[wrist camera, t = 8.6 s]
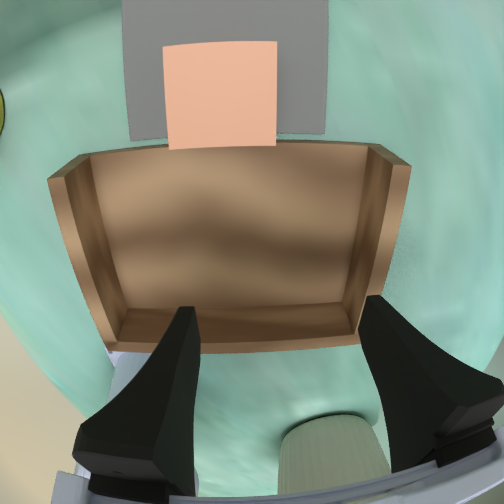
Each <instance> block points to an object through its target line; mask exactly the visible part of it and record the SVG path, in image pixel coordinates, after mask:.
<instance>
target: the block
mask: <svg viewBox="0 0 504 504" xmlns="http://www.w3.org/2000/svg"><path fill="white" fill-rule="evenodd" d="M163 69H164V88H165V104H166V118H167V131H168V143H169V150H174V149H188V148H206V147H229V146H276V117H277V41H227V42H207V43H193V44H182V45H173V46H165V47H163Z"/></svg>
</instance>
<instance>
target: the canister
mask: <svg viewBox="0 0 504 504" xmlns="http://www.w3.org/2000/svg"><path fill="white" fill-rule="evenodd" d="M389 474H392V473H391V469H390V467H389V464H388V462H387V460H386V457H385V455H384V453H383V450H382V448H381V446H380V444H379V442H378V439H377V437H376V435H375V433H374V431H373V429H372V427H371V426H370V425H369V423H367V422H366V421H365V420H364V419H362V418H360V417H358V416H354V415H334V416H327V417H322V418H318V419H315V420H311V421H309V422H306V423H304V424H302V425H299V426H298V427H296V428H294V429H293V430H291V431H290V432H289V433H288V434H287V435H286V436H285V438H284V439H283V441H282V444H281V448H280V454H279V470H278V495H281V494H291V493H299V492H307V491H314V490H321V489H327V488H332V487H338V486H343V485H348V484H353V483H357V482H362V481H366V480H370V479H374V478H378V477H382V476H386V475H389ZM389 493H390V492H389ZM386 494H387V493H385V494H382V495H378V496H374V497H370V498H366V499H362V500H358V501H353V502H349V503H344V504H358V503H362V502H366V501H370V500H374V499H378V498H382V497H385V496H386Z"/></svg>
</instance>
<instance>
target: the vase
mask: <svg viewBox="0 0 504 504" xmlns="http://www.w3.org/2000/svg"><path fill="white" fill-rule="evenodd" d="M3 120H4V108H3V99H2V96H1V93H0V133H1V130H2V126H3Z"/></svg>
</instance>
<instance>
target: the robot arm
mask: <svg viewBox="0 0 504 504" xmlns="http://www.w3.org/2000/svg"><path fill="white" fill-rule="evenodd" d="M358 333H359V337H360V342H361V345H362V349H363V352H364V355H365V357H366V360H367V363H368V365H369V368H370V370H371V373H372V376H373V378H374V381H375V384H376V386H377V389H378V392H379V395H380V399H381V403H382V407H383V411H384V416H385V422H386V427H387V433H388V440H389V447H390V457H391V473H392V474H389V475H386V476H382V477H378V478H374V479H370V480H366V481H362V482H357V483H353V484H348V485H343V486H338V487H332V488H327V489H321V490H314V491H307V492H299V493H291V494H281V495H269V496H254V497H197V496H198V490H199V479H198V474H197V471H196V469H195V467H194V447H193V422H194V405H195V397H196V390H197V382H198V375H199V367H200V353H201V339H200V333H199V328H198V323H197V317H196V312H195V306H180V307H179V308H178V309H177V311H176V313H175V315H174V317H173V319H172V321H171V323H170V325H169V326H168V328H167V330H166V332H165V333H164V335H163V337H162V338H161V340H160V342H159V343H158V345H157V346H156V348H155V349H154V351H153V352H152V353H136V352H116V351H108V350H107V348H106V346H105V347H104V348H105V350H106V352H107V354H108V356H109V358H110V360H111V362H112V364H113V366H114V368H115V371H114V374H113V378H112V382H111V386H110V390H109V394H108V398H107V402H106V405H105V406H104V407H103V408H102V409H101V410H100V411H98V412H97V413H96V414H94V415H93V416H92V417H90V418H89V419H88V420H86V421H85V422H84V423H82V424H81V425H80V428H79V430H78V433H77V436H76V439H75V443H74V448H73V452H72V455H73V458H74V459H75V460H76V461H77V462H76V466H75V472H74V474H70V473H66V472H62V471H57V475H56V479H55V484H54V489H53V494H52V500H51V504H344V503H349V502H353V501H358V500H362V499H366V498H370V497H374V496H378V495H382V494H385V493H387V494H386V496H385V497H382V498H378V499H374V500H370V501H366V502H362V503H358V504H463V503H465V502H467V501H469V500H471V499H473V498H475V497H476V496H478V495H480V494H482V493H484V492H486V491H488V490H489V489H491V488H493V487H494V486H496V485H498V484H500V483H501V482H503V481H504V425H503V426H501V427H499V428H497V429H496V430H494V431H493V429H492V426H493V425H494V421H493V418H492V417H493V416H494V415H495V414H496V413H497V412H498V410H499V409H500V408H501V407H502V406H503V405H504V385H503V383H502V381H501V380H500V379H498V378H495V377H493V376H490V375H487V374H485V373H483V372H481V371H478V370H476V369H474V368H472V367H470V366H468V365H467V364H465V363H463V362H461V361H459V360H458V359H456V358H454V357H453V356H451V355H450V354H448V353H447V352H445V351H444V350H442V349H441V348H440V347H438V346H437V345H435V344H434V343H433V342H431V341H430V340H429V339H428V338H426V337H425V336H424V335H423V334H422V333H420V332H419V331H418V330H417V329H416V328H415V327H414V326H412V325H411V324H410V323H409V322H408V321H407V320H406V319H405V318H404V317H403V316H402V315H401V314H400V313H399V312H397V311H396V310H395V309H394V308H393V307H392V306H391V305H390V304H389V303H388V302H387V301H386V300H385V299H384V298H383V297H382V296H380V295H369V296H367V297H366V300H365V304H364V308H363V312H362V315H361V319H360V322H359V326H358ZM389 492H390V493H389Z"/></svg>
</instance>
